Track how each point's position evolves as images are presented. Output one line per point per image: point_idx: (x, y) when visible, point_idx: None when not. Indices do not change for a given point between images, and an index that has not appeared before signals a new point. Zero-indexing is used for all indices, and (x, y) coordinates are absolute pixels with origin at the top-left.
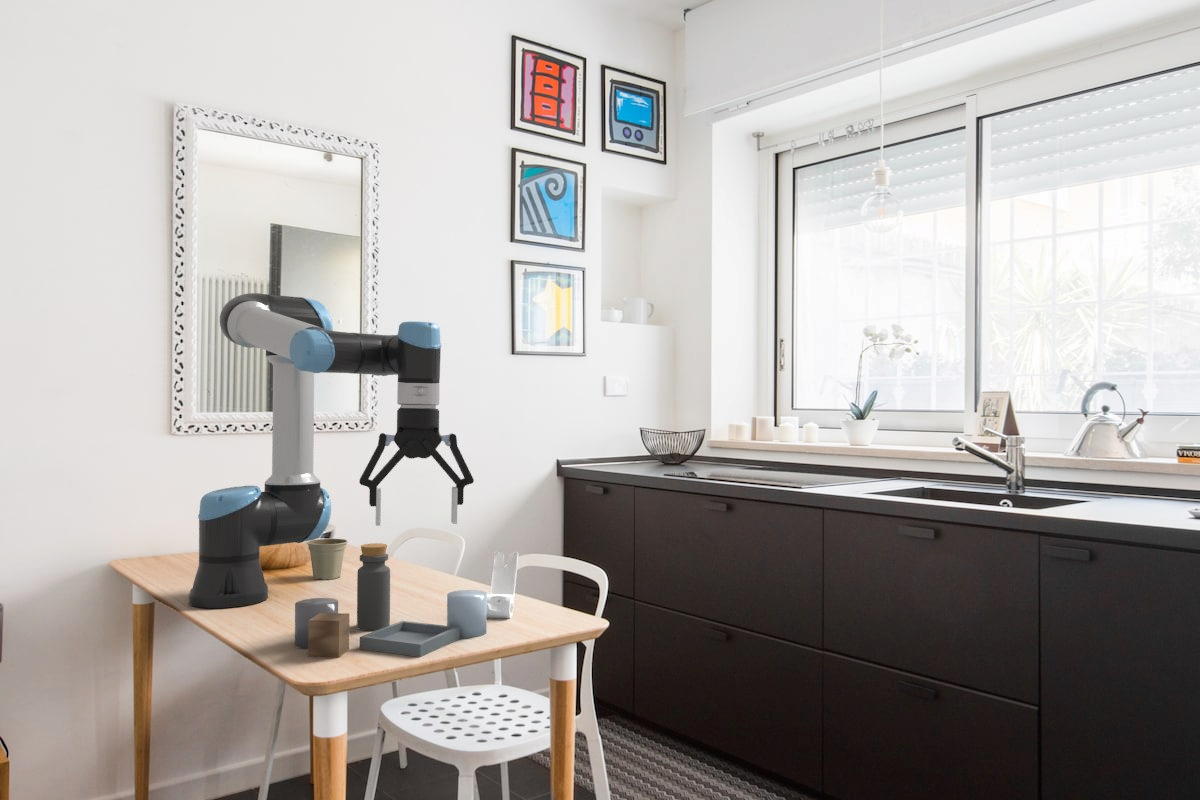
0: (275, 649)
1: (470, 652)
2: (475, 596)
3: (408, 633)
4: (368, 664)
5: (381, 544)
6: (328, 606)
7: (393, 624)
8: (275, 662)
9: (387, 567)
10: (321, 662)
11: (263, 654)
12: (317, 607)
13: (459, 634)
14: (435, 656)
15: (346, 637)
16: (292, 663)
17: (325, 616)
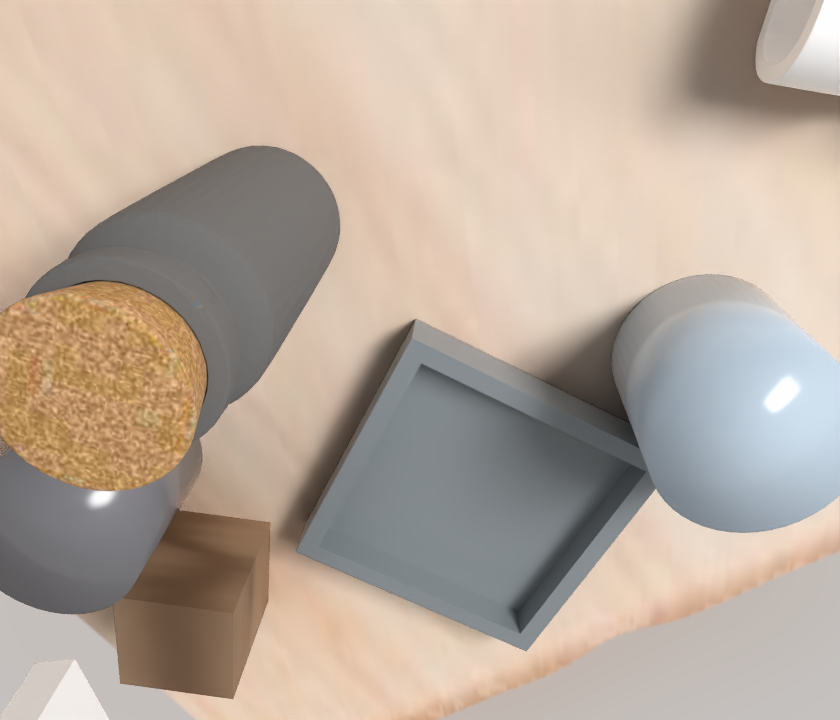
0: None
1: (690, 592)
2: (795, 503)
3: (453, 402)
4: (375, 662)
5: (136, 376)
6: (126, 592)
7: (384, 397)
8: (97, 620)
9: (254, 332)
10: None
11: None
12: (91, 611)
13: None
14: (572, 618)
15: (256, 578)
16: None
17: (157, 643)
